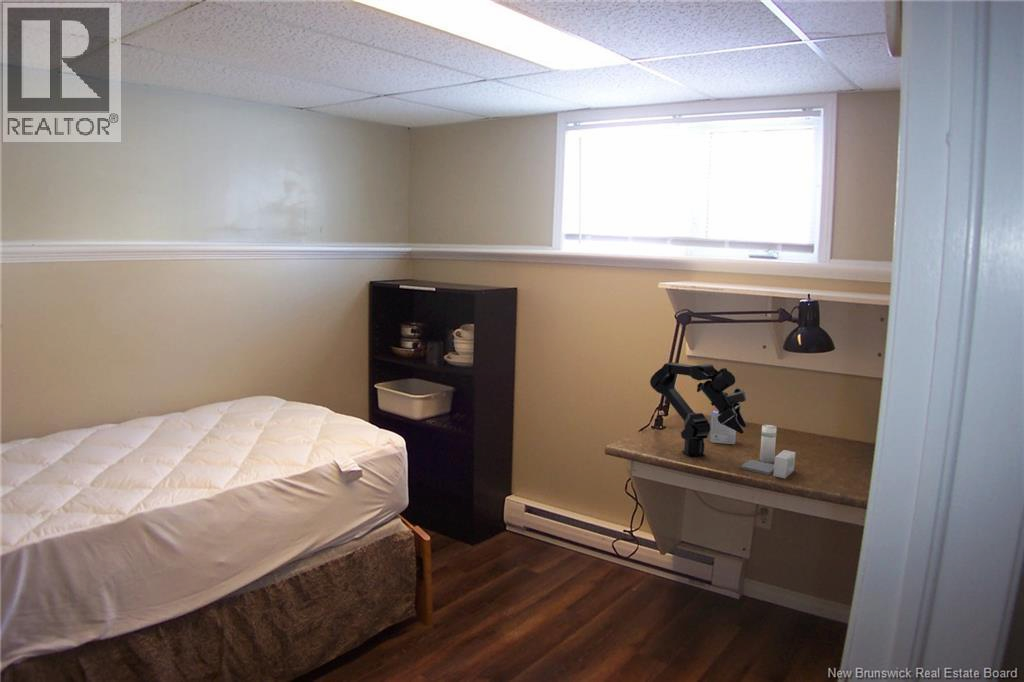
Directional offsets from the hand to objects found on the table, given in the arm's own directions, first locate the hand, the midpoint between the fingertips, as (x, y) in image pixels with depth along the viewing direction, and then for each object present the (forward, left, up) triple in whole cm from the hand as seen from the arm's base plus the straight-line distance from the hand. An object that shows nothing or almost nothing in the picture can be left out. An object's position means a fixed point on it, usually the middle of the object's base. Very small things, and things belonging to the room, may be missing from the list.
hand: (744, 429), depth 256 cm
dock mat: (+4, -5, -13) cm, 15 cm away
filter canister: (+12, +2, -13) cm, 18 cm away
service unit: (+9, -12, -13) cm, 20 cm away
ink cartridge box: (+9, +27, -13) cm, 31 cm away
